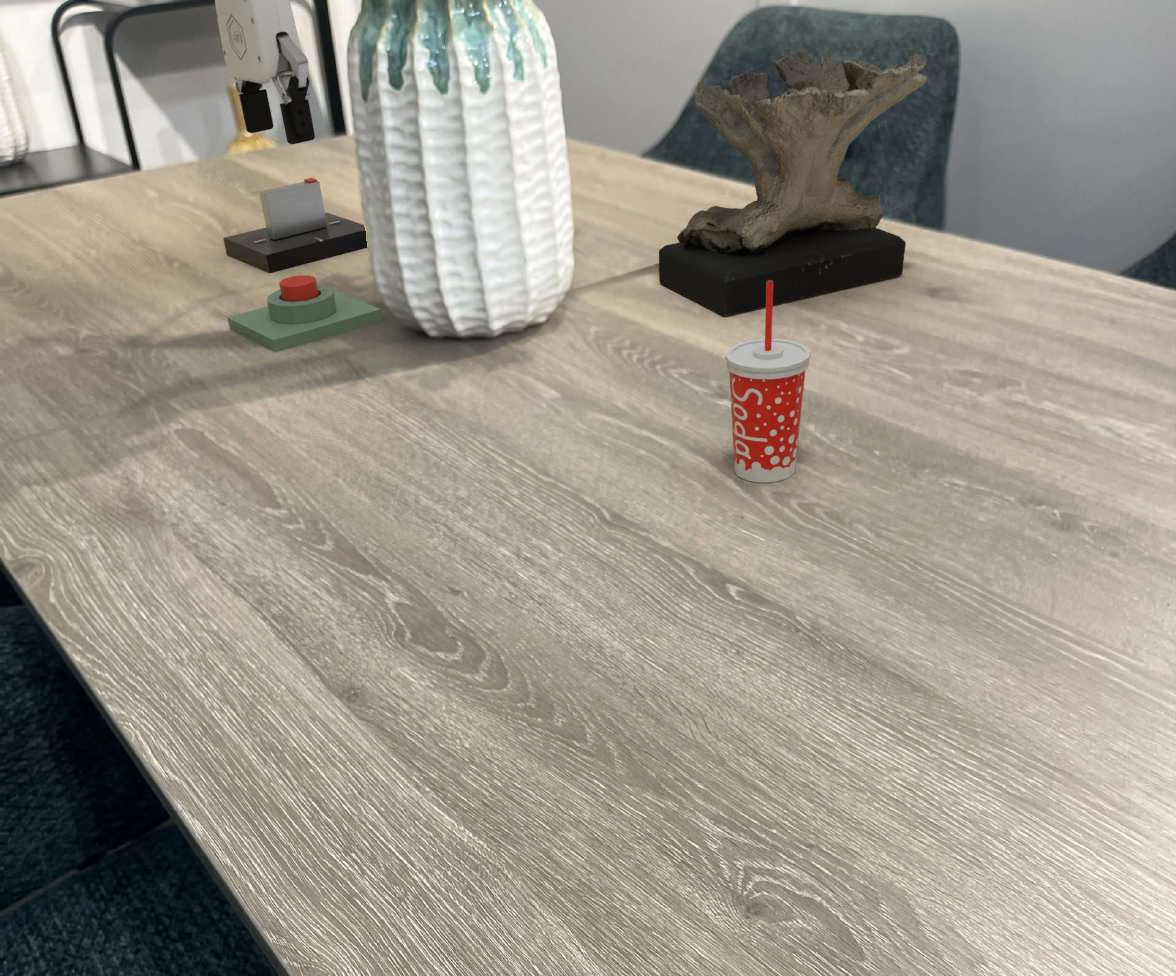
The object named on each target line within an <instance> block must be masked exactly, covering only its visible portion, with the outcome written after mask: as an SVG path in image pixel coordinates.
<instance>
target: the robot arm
mask: <svg viewBox="0 0 1176 976" xmlns="http://www.w3.org/2000/svg"><path fill="white" fill-rule="evenodd" d="M214 5H215V11H216V18H217V26H218V31H219V36H220V42H221V47H222V53H223V59H224V62H225V63H224V64H225V68H226V71H227V72H228V73H229V74H230V75H231V77H233V78H234V80H235V81H234V82H235V83H234V84H235V90H236V92H237V93H238V97H239V101H240V106H241V111H242V116H243V120H244V125H245V130H246V132H247V133H249V134H255V133H259V132H260V133H261V132H264V131H270V130H273V129H274V121H273V116H272V110H271V105H270V101H269V96H268V91H267V89H266V88H264V89H263V86H264V84H269V83H270V81H272V83H273V84H274V86H275V88H276V90H277V92H278V95H280V98H281V100H282V102H283V103H279V107H280V113H281V116H282V122H283V128H284V133H285V137H286V142H287V143H288V144H289V145H296V144H302V143H305V142H310V141H314V140H315V138H316V134H315V129H314V123H313V117H312V113H311V106H310V101H309V100H310V96H311V95H310V91H309V87H310V79H309V60H308V58H307V56H306V55H305V54H304V52H303V51H302V50H301V46H300V45H301V44H300V40H299V36H298V31H297V26H296V22H295V21H296V20H295V18H294V13H293V8H292V4H291V0H214ZM286 83H288V84H287V85H286Z"/></svg>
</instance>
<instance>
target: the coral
mask: <svg viewBox="0 0 1176 976" xmlns="http://www.w3.org/2000/svg"><path fill="white" fill-rule="evenodd" d="M808 53H809V52H808V51H805V50H801V49H799V50H797V51H796V53H792V54H790V53H788V54H786V55H784V56H783V57H781V58H780V59H778V60H776V59H775V60H773V66H774V69H775V70H776V71H777V74H778V76H779V77H780V79H781V80H782V81H783V82H784V83H785V85H786V88H787V89H788V90H786V91H785V92H783V93H781V94H780V95H778V96H775V97H773V98H772V99H771V98H770V94H771V89H770V90H769V87H770V86H769V83H770V82H769V81H770V75H769V74H768V73H767V72H764V71H763V72H760V73H758V72H752V71H751V72H749V71H745V72H744V73H742V74H737V75H735V76H733V77H731V78H730V79H729V80H728V88H729V90H727V89H722V87H721V85H715V86H714V85H713V86H710V84H709V83H707V82H705V81H704V80H703V79H700V81H699V82H697V85H696V87H695V89H694V92H693V98H694V99H693V100H694V106H695V108H696V110H697V111H698V112H699V114H701V115H702V116H703V117H705V119H706V120H707V121H708V122H709V123H710V124H711V125H712V127H714V128H715V129H716V131H717V133H718V134H720V136H721V137H722V138H724V139H725V140H726V141H727V142H728V143H729V144H730V145H731V146H732V148H733V149H735V150H736V151H738V152H740V153H741V154H742V155H743V156H744V157H745V158H746V159H747V161H749V163H750V164H751V166H752V170H753V175H754V187H755V193H756V200H753V201H751V202H750V203H747V204H745V206H744V207H743V208H737V207H733V208H732V207H723V206H719V205H713V206H710V207H708V208H707V210H704V209H703V210H699V211H697V212H695V213H694V214H693V215H692V216H691V218H690V219H689V221H688V222H687V224H686V227H685V228H684V229H682V230H681V231H680V232H679V233H678V235H677V236H676V238H677V241H678V242H675V243H670V244H666V245H664V246H663V247H661V248H659V250H658V278H659V279H658V280H659V284H660V285H661V286H663V287H665V288H667V289H670V290H671V291H673V292H675V293H678V294H679V295H681V296H684V297H685V298H687V299H689V300H691V301H693V302H695V303H697V304H699V305H700V306H703V307H704V308H706V309H708V310H710V311H713V313H716V314H717V313H718V314H717V315H720V316H721V317H729V316H734V315H738V314H743V313H746V312H751V311H757V310H760V309H764V308H765V309H766V281H768V280H772V281H773V306H777V305H782V304H785V303H790V302H795V301H798V300H801V299H808V298H811V297H815V296H819V295H824V294H828V293H832V292H837V291H841V290H845V289H850V288H853V287H858V286H862V285H866V284H872V283H876V282H879V281H884V280H885V281H886V280H887V279H888V280H889V279H892V278H897V277H901V276H902V275H903V271H904V263H905V262H904V261H905V254H906V253H905V252H906V244H907V243H906V241H905V240H904V239H903V238H902V237H901V236H899V235H897V234H894V233H891V232H890V231H886V230H883V229H880V228H877V227H878V225H880V223H881V220H882V219H883V217H884V211H883V209H882V204H881V194H879V193H877V194H873V195H868V196H867V195H866V196H864V195H862V194H860V193H859V192H858V191H857V190H856V189H855V188H854V187H853V185H852V182H851V181H850V179H848V178H845V177H843V178H838V176H839V172H840V168H841V165H842V163H843V162H844V160H845V157H846V154H847V150H848V149H849V146H850V145H851V144H852V142H853V141H855V140H856V139H857V138H858V137H859V135H861V134H862V133H863V131H864V129H866V128H867V126H868V125H870V124H871V122H872V121H874V120H875V119H877V118H878V117H879V116H880V115H882V114H883V113H884V112H886V111H887V110H889V109H890V108H892V107H893V106H894V105H896V104H898V103H900V102H902V101H903V100H904V98H906V97H907V96H910V94H911V93H913V92H915V91H917V90H918V89H919V88H920V87H922V86H923V85H925V84H926V83H927V80H928V79H927V75H924V74H923V73H919V72H920V71H922V70H924V68H925V67H926V63H927V60H926V59H925V56H924V55H922V54H919V53H916V54H915V55H910V56H909V60H908V62H907V63H906V64H904V65H902V66H899V64H898V63H896V64H894V65H892V64H890V65H889V66H888V67H886V68H885V69H881V68H880V67H878V66H877V64H872V63H869V62H867V61H865V60H863V59H860V60H859V61H858V62H856V61H854V60H847V59H844V60H842V61H841V63H840V64H837V61H836V60H835V59H833V58H831V57H830V56H831V54H830V52H829V51H827V50H824V51H823V54H824V56H822V58H821V63H819V64H818V65H817V64H816V63H813V62H810V58H809V54H808Z"/></svg>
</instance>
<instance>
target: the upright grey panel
mask: <svg viewBox="0 0 1176 976" xmlns="http://www.w3.org/2000/svg"><path fill="white" fill-rule="evenodd" d="M258 192H259V193H258V194H259V199H260V204H261V209H262V213H263V219H264V224H265V228H266V229H267V234H268V238H271V239H273V240H277V239H281V238H285V237H289V236H293V235H297V234H301V233H305V232H309V231H313V230H317V229H321V228H325V227H327V223H326V217H325V213H326V212H325V206H324V201H323V194H322V189H321V184H320V181H319V180H318V179H317V178H313V177H308V178H304V179H303V181H300V182H295V183H291V184H287V185H282V186H278V187H274V188H269V189H265V190H261V191H258Z"/></svg>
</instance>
